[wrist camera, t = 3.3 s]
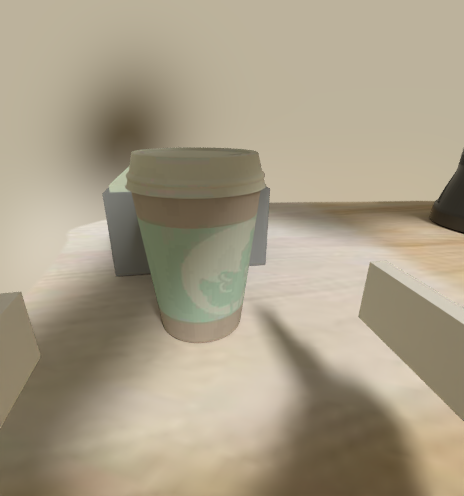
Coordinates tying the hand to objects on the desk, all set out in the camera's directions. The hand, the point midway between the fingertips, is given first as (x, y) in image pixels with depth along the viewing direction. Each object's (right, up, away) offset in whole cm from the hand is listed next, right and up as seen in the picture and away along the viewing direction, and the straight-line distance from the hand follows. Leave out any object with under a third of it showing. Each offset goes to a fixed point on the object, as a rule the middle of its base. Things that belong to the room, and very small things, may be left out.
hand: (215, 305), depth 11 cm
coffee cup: (-2, -3, +11) cm, 11 cm away
